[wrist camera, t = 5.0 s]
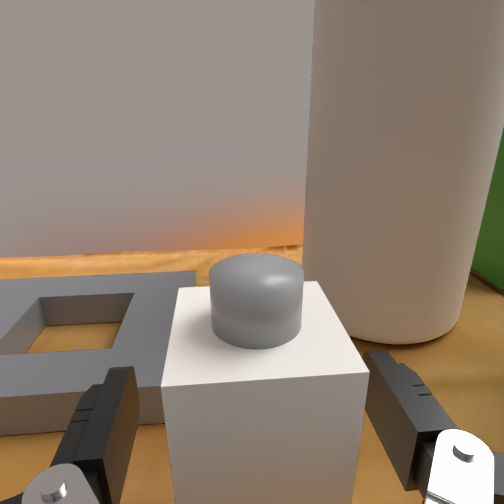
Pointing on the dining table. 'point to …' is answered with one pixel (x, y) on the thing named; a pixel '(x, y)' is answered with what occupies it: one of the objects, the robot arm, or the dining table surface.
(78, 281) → the socket plate
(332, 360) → the white block with knob
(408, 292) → the cylinder vase
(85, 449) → the robot arm
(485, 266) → the green cereal box
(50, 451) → the dining table surface
